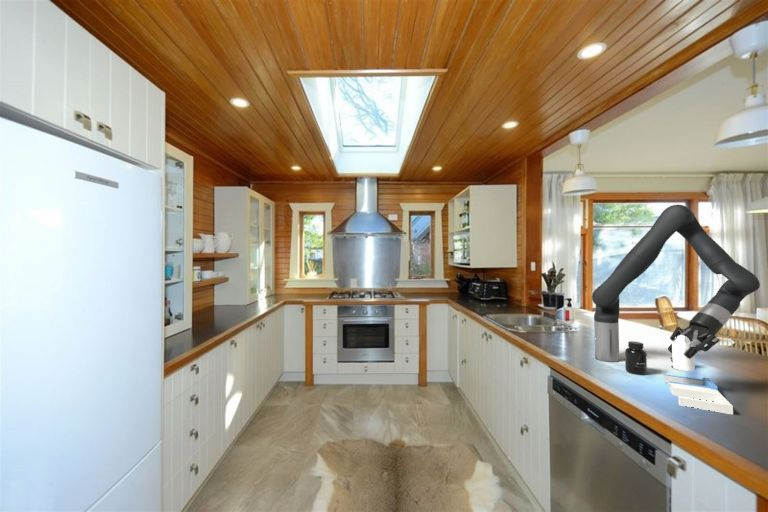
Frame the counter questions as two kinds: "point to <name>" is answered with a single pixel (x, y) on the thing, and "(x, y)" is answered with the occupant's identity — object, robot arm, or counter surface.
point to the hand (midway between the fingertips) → (678, 353)
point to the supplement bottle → (636, 358)
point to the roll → (682, 354)
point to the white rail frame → (698, 393)
